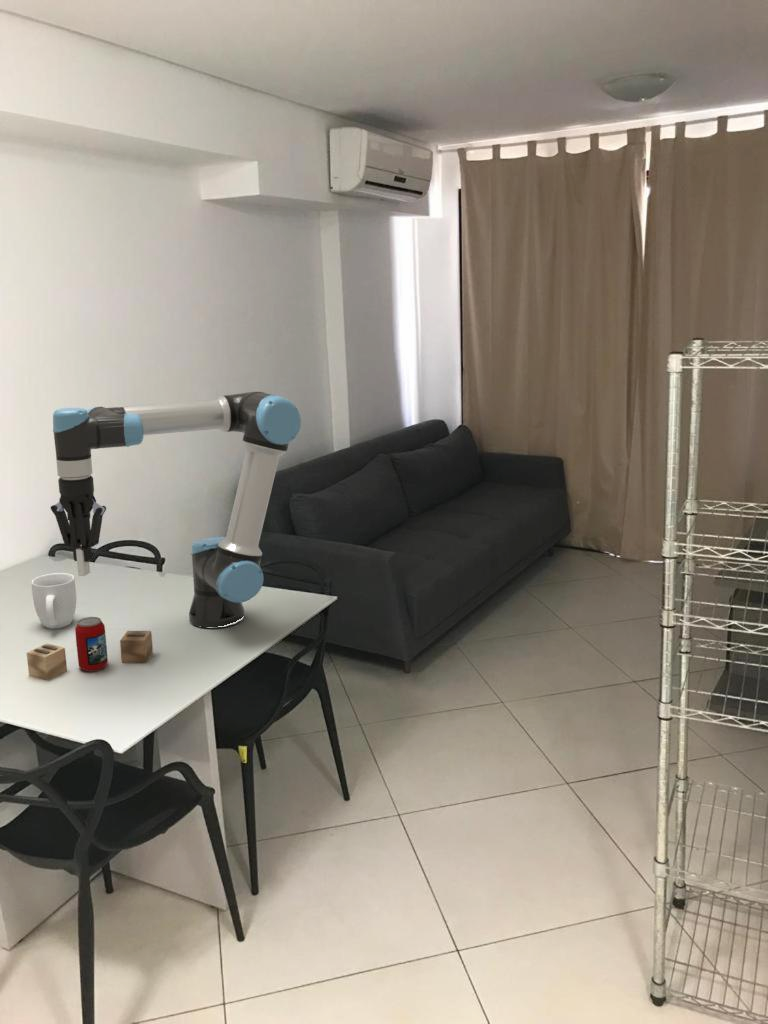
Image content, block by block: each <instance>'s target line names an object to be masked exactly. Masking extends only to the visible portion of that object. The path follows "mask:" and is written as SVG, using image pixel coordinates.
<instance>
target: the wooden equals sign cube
mask: <svg viewBox="0 0 768 1024" xmlns="http://www.w3.org/2000/svg"><path fill="white" fill-rule="evenodd" d="M26 660H27V668H28V669H27V670H28V675H29V677H33V678H37V679H39V680H43V681H44V680H45V681H50V680H52V679H53V678H55V677H58V676H59V675H61V674H63V673H64V672H67V671H68V665H67V657H66V647H63V646H59V645H55V644H51V643H47V642H46V643H44V644H41V645H39V646H38V647H35V648H34V649H32V650H30V651H27V652H26Z"/></svg>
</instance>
